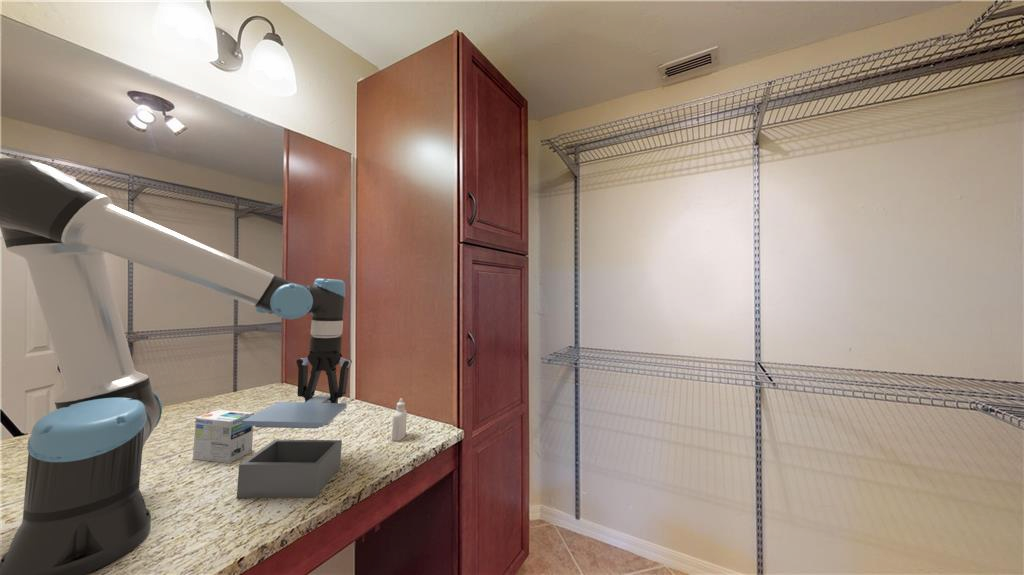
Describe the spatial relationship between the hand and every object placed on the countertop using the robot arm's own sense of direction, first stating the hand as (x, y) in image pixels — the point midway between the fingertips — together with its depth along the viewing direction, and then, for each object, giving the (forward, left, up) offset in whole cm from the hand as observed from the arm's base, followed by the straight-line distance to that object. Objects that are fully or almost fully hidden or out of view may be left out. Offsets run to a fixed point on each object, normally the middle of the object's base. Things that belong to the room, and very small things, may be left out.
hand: (320, 422), depth 87 cm
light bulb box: (-24, +1, -9) cm, 26 cm away
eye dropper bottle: (+18, +13, -9) cm, 24 cm away
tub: (0, -11, -9) cm, 15 cm away
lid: (0, -8, +4) cm, 9 cm away
